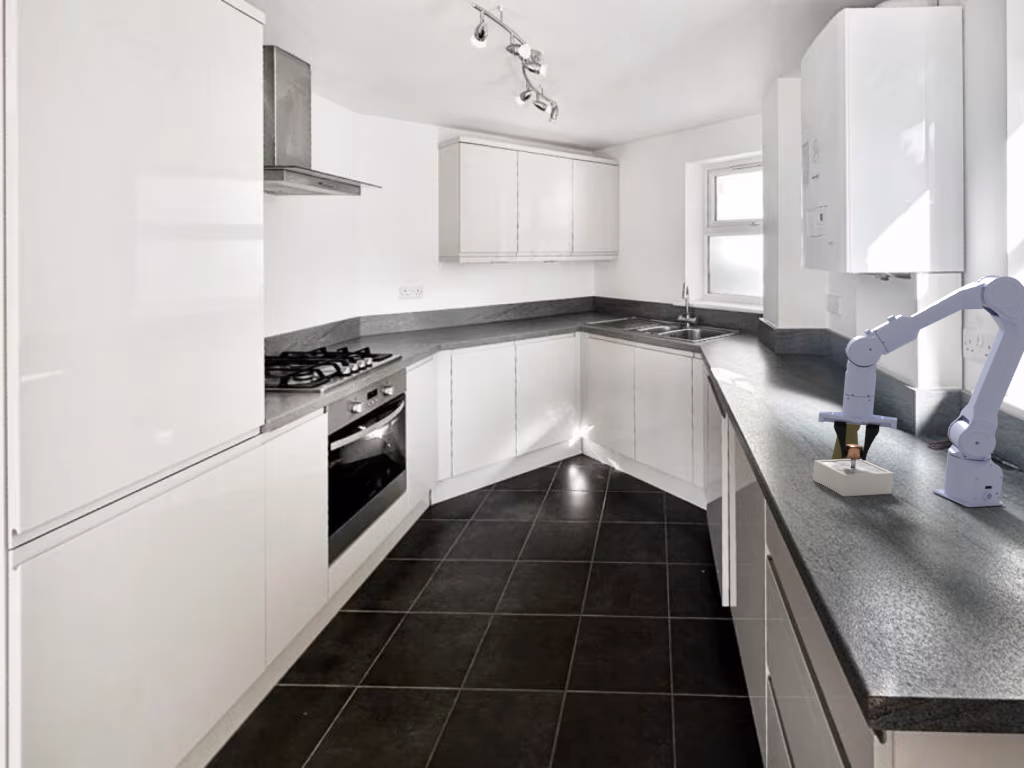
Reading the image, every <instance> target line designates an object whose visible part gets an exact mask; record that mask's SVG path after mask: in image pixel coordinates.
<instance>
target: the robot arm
mask: <svg viewBox="0 0 1024 768" xmlns="http://www.w3.org/2000/svg"><path fill="white" fill-rule="evenodd" d="M962 310H963V311H964V310H985V311H986V312H988V314H989V315H990V316H991V318H992V319H993V321H994V322H995V323H996V324H997V326H998V331H997V333H996V335H995V338H994V341H993V343H992V345H991V347H990V350H989V353H988V355H987V357H986V360H985V362H984V365H983V367H982V369H981V372H980V374H979V377H978V380H977V382H976V384H975V386H974V389H973V391H972V393H971V396H970V399H969V401H968V403H967V405H965V406H964V407H963V408H962V410H961V411H960V414H959V416H958V417H957V418H956V419H955V420H953V421H952V422H951V423H950V425H949V426H948V429H947V437H948V439H949V441H950V442H951V443H952V444H951V445H950V447H949V448H948V450H947V457H946V466H945V473H944V474H945V475H944V485H943V488H939V489H937V488H936V489H933V490H932V492H933V493H935V494H937V495H939V496H941V497H943V498H946V499H947V500H951V501H953V502H956V503H957V504H960V505H962V506H964V507H967V508H977V507H978V508H979V507H993V506H995V507H996V506H1003V505H1004V502H1003V501H1001V496H1002V487H1003V481H1004V473H1003V469H1002V468H1001V466H999V465H998V464H997V463H995V462H994V460H992V453H993V452H994V450H995V448H996V445H997V439H996V432H997V429H998V427H999V423H998V422H999V421H998V417H999V416H998V413H999V410H1000V408H1001V406H1002V403H1003V402H1004V399H1005V396H1006V394H1007V391H1008V390H1009V387H1010V385H1011V382H1012V380H1013V377H1014V375H1015V373H1016V371H1017V368H1018V366H1019V363H1020V361H1021V359H1022V356H1023V354H1024V285H1023V284H1022V283H1021V282H1020V280H1018V279H1017V278H1015V277H1012V276H1004V275H1003V276H998V275H986V276H983V277H981V278H980V279H978V280H977V281H973V282H970V283H967V284H965V285H963V286H961V287H959V288H957V289H956V290H954V291H951V293H949V294H947V295H945V296H943V297H941V298H940V299H937V300H936V301H935V302H933V303H931V304H929V305H928V306H926V307H924V308H922V309H921V310H919V311H917V312H916V313H913V314H912V315H905V314H898V315H897V316H895V315H893V314H892V315H890V316H888V317H887V318H886V320H887V321H885V322H883V323H882V324H879V325H878V326H876V327H875V328H872V329H870V328H867V329H865V330H864V334H865V335H857V336H854V337H852V338H851V339H850V340H849V341H848V343H847V344H846V347H845V355H846V357H847V358H848V359H847V363H846V371H845V373H844V374H845V376H844V387H843V398H842V399H843V400H842V410H841V411H822V410H820V411H818V420H817V422H819V423H824V422H826V423H833V429H834V431H835V435H836V438H837V437H838V440H839V443H840V447H841V455H842V457H841V458H845V454H846V430H847V424H856V425H861V426H865V429H864V430H865V431H864V443H863V454H862V460H864V461H867V455H868V453H869V450H870V448H871V446H872V444H873V442H874V441H875V439H876V438H877V436H878V435H879V432H880V428H888V429H889V428H890V429H894V430H896V429H897V427H898V426H897V424H898V417H892V416H884V415H877V414H874V405H875V393H876V384H877V383H876V381H877V373H876V372H877V370H876V369H877V363H878V362H879V360H880V359H881V357H882V355H888V354H890V353H892V352H894V351H896V350H898V349H900V348H902V347H903V346H905V345H907V344H910V343H912V342H913V341H915V340H917V338H918V336H919V333H920V331H921V330H922V329H924V328H926V327H929V326H931V325H933V324H934V323H937V322H939V321H941V320H943V319H945V318H947V317H949V316H951V315H953V314H956V313H957V312H960V311H962Z"/></svg>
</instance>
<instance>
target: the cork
mask: <svg viewBox="0 0 1024 768" xmlns="http://www.w3.org/2000/svg"><path fill="white" fill-rule="evenodd" d="M861 426H862V425H856V424H847V430H846V445H848V444H855V445H859V437H858V436H859V434H858V432H859V430H860V428H861ZM841 457H842V455H841V447H840V443H839V440H838V437H837V436H836V438H835V442H834V448H833V451H832V455H831V459H830V460H834V459H849V458H846V457H845V458H841Z"/></svg>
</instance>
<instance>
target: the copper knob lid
mask: <svg viewBox="0 0 1024 768" xmlns="http://www.w3.org/2000/svg"><path fill="white" fill-rule="evenodd" d="M863 447H864V445H861V444H858V445H855V444H848V445H846V454H845V457H846V458H849V459H851V461H830V462H822V463H824V464H827V465H829V466H831V467H833V468H835V469H837V470H839V471H841V472H843V473H845V474H857V473H876V472H885V471H883V470H880V469H878V468H876V467H873V466H871V465H869V464H867V463H864V462H862V461H860V460H856V459H862V454H863Z"/></svg>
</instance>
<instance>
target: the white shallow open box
mask: <svg viewBox="0 0 1024 768" xmlns="http://www.w3.org/2000/svg"><path fill="white" fill-rule="evenodd" d="M856 460H860V461H862V462H864V463H867V464H869V465H871V466H873V467H876V468H878V469H880V470H883V471H885V472H876V473H857V474H845V473H843V472H841V471H839V470H837V469H835V468H833V467H831V466H829V465H827V464H824V463H822V462H830V461H851V459H834V460H831V459H818V460H817V459H815V460H814V461H813V474H812V475H813V477H812V481H814V482H816V483H818V484H819V483H820V485H821V484H822V485H821V486H823V485H824V487H825V486H826V488H827V487H828V488H827V489H829V488H830V489H829V490H831V489H832V490H833V492H834V491H835V492H834V493H836V492H837V494H838V495H840V496H842V497H853V496H854V497H855V496H871V495H873V496H874V495H890V494H892V493H893V485H894V484H893V482H894V472H892V471H890V470H888V469H886V468H883V467H881V466H878V465H877V464H874V463H872V462H869V461H867V460H866V461H864V460H862V459H856ZM832 490H831V491H832Z"/></svg>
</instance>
